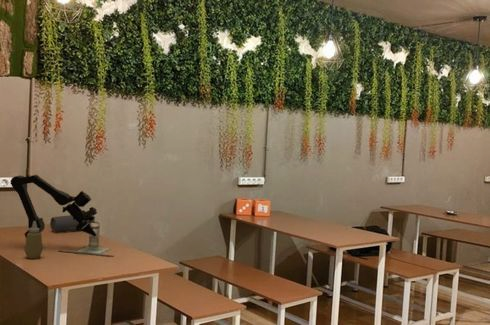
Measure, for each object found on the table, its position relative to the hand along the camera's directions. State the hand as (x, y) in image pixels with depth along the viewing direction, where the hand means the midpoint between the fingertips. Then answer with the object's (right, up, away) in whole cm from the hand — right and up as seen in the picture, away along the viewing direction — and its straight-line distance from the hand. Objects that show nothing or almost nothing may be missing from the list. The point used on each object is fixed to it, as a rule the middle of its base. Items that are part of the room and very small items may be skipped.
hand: (96, 234), depth 276 cm
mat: (-2, -8, 0) cm, 9 cm away
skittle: (-2, -7, 0) cm, 7 cm away
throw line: (-3, -9, -8) cm, 12 cm away
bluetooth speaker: (-30, -5, +49) cm, 58 cm away
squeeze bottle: (-25, -9, -21) cm, 34 cm away
